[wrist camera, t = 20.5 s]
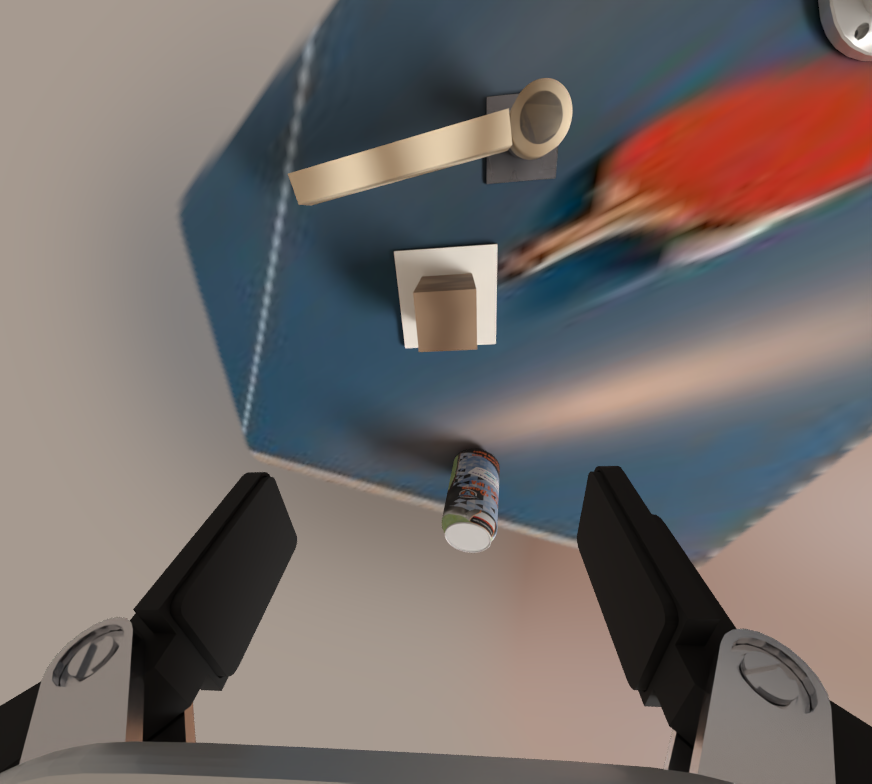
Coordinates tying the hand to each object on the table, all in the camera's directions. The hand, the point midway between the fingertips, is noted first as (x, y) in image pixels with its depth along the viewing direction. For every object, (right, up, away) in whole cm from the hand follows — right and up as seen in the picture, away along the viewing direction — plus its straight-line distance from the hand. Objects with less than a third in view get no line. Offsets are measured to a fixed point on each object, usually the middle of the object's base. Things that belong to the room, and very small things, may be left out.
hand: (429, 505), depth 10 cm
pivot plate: (+8, +25, +18) cm, 32 cm away
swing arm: (0, +23, +19) cm, 30 cm away
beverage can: (+5, -6, +35) cm, 36 cm away
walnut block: (+1, +13, +24) cm, 28 cm away
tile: (+1, +13, +25) cm, 28 cm away
